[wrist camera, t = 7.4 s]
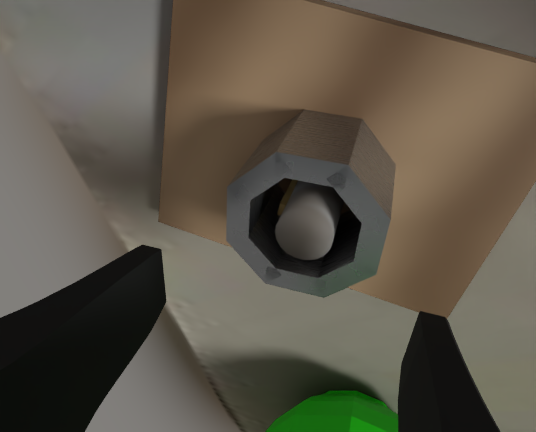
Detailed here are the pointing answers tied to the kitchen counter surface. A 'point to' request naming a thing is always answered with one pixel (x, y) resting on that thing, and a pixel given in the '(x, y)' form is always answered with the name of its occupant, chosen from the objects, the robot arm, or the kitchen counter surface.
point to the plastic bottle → (338, 415)
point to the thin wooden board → (359, 106)
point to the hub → (323, 173)
